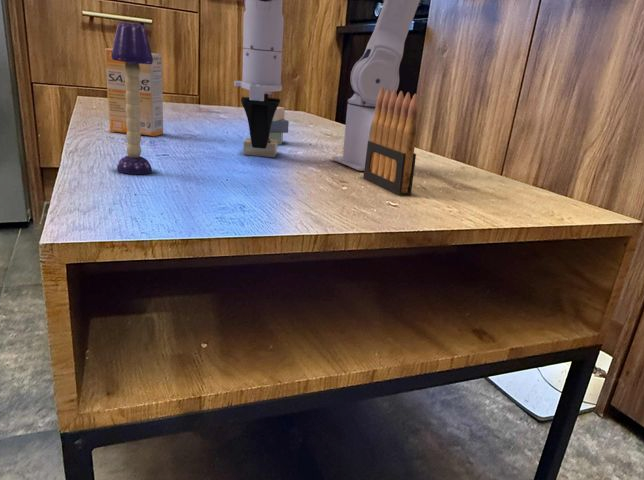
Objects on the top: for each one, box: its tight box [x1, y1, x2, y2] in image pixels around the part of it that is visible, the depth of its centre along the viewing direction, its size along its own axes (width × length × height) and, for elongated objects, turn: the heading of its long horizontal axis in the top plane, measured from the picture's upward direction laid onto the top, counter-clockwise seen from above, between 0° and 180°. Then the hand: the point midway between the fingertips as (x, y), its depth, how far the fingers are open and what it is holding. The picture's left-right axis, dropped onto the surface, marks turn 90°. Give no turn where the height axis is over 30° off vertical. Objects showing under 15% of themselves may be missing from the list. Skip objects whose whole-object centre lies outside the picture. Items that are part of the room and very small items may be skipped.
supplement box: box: [104, 47, 164, 137], centre depth 102 cm, size 8×5×13 cm, turn 80°
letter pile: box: [269, 106, 290, 146], centre depth 108 cm, size 7×7×6 cm
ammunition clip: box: [362, 87, 419, 196], centre depth 78 cm, size 11×2×12 cm, turn 22°
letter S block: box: [242, 137, 278, 158], centre depth 96 cm, size 5×5×2 cm
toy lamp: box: [111, 21, 153, 175], centre depth 72 cm, size 5×5×17 cm
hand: (259, 147), depth 93 cm, fingers closed
